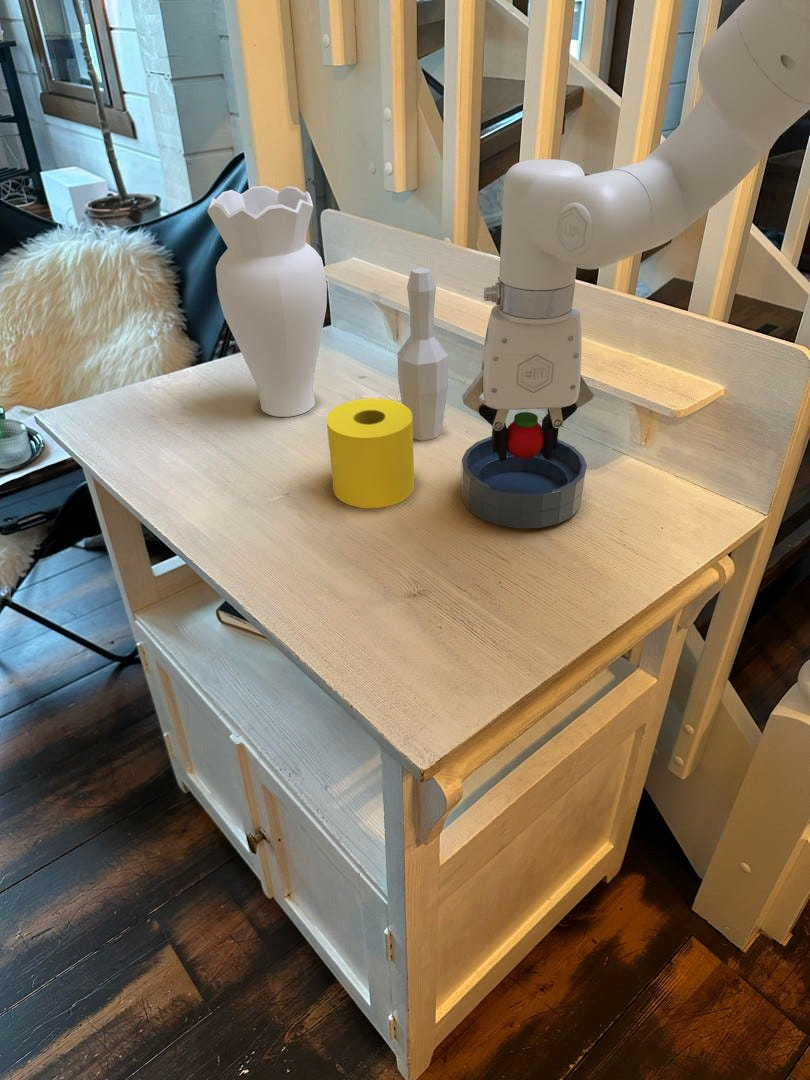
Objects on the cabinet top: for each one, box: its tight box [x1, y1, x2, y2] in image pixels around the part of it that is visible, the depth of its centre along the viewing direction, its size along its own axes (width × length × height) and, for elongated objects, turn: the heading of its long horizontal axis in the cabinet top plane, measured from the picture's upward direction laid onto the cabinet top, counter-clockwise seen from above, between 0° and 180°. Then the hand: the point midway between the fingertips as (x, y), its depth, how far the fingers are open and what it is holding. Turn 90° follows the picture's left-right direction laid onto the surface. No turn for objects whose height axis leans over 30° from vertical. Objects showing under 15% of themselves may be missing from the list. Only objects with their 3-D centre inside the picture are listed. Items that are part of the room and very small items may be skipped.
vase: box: [206, 185, 328, 418], centre depth 104 cm, size 15×15×29 cm
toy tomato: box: [506, 411, 545, 459], centre depth 86 cm, size 5×5×5 cm
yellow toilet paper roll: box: [326, 397, 415, 509], centre depth 91 cm, size 10×10×9 cm
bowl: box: [460, 435, 588, 529], centre depth 89 cm, size 14×14×5 cm
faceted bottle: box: [397, 267, 449, 441], centre depth 98 cm, size 6×6×22 cm
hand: (523, 453), depth 87 cm, fingers closed on toy tomato, 4 cm apart
